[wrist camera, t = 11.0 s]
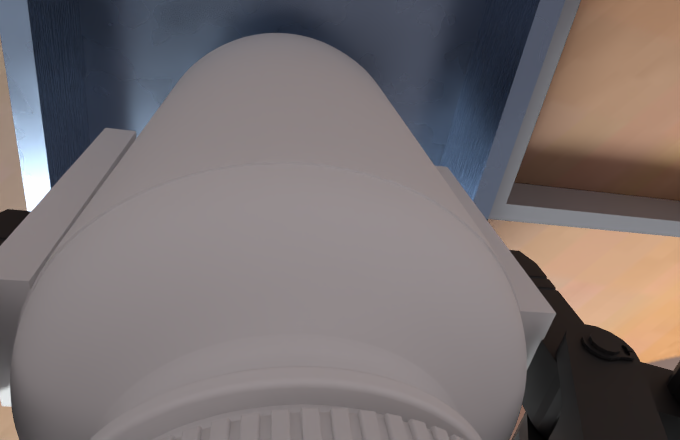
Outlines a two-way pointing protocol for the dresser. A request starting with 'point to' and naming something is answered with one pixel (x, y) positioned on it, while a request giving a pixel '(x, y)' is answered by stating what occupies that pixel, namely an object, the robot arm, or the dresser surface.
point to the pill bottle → (271, 275)
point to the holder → (572, 203)
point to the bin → (275, 17)
